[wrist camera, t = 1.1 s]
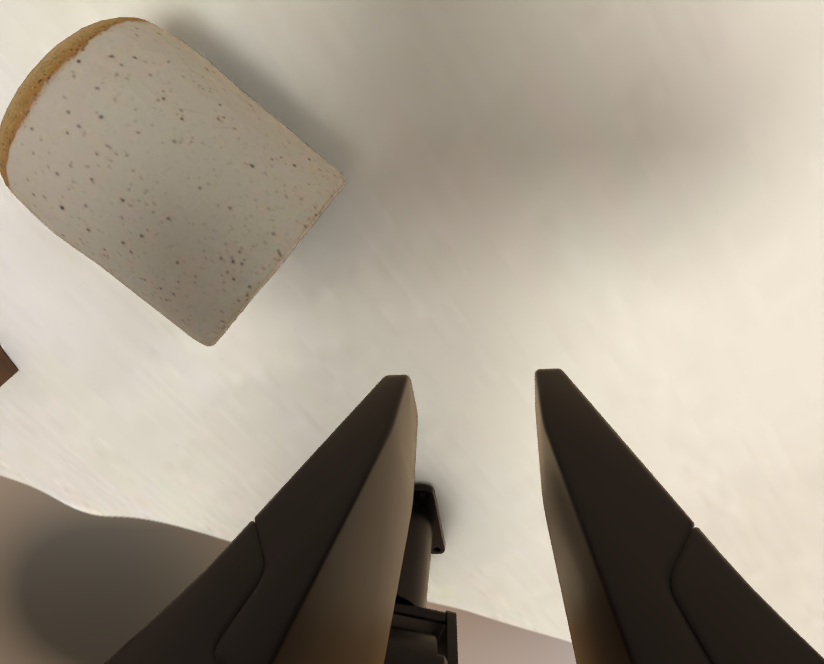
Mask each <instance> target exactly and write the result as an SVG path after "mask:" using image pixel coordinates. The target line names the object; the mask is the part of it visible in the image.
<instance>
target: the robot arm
mask: <svg viewBox="0 0 824 664" xmlns="http://www.w3.org/2000/svg"><path fill="white" fill-rule="evenodd" d="M535 409H536V425H537V437H538V450H539V462H540V474H541V487H542V496H543V505H544V510H545V516H546V521H547V526H548V530H549V535H550V540H551V545H552V549H553V554H554V559H555V564H556V568H557V573H558V578H559V582H560V587H561V592H562V597H563V601H564V606H565V611H566V616H567V620H568V625H569V630H570V635H571V639H572V644H573V648H574V653H575V658H576V663H577V664H824V658H823V657H822V656H821V655H820V654H819V653H818V652H817V651H815V650H814V649H813V648H812V647H811V646H810V645H809V644H808V643H807V642H806V641H805V640H804V639H803V638H802V637H801V636H800V635H799V634H798V633H797V632H796V631H795V630H794V629H793V628H792V627H791V626H790V625H789V624H788V623H787V622H786V621H785V620H784V619H783V618H782V617H781V616H780V615H779V614H778V613H777V612H776V611H775V610H774V609H773V608H772V607H771V606H770V605H769V604H768V603H767V602H766V601H765V600H764V599H763V598H762V597H761V596H760V595H759V594H758V593H757V592H756V591H755V590H754V589H753V588H752V587H751V586H750V585H749V584H748V583H747V582H746V581H745V580H744V579H743V578H742V576H741V575H740V574H739V573H738V572H737V571H736V570H735V569H734V568H733V567H732V565H731V564H730V563H729V562H728V561H727V560H726V559H725V558H724V557H723V556H722V554H721V553H720V552H719V551H718V550H717V549H716V548H715V546H714V545H713V544H712V543H711V542H710V541H709V539H708V538H707V537H706V536H705V535H704V534H703V532H702V531H701V530H700V529H699V528H697V527H695V528H694V522H693V521H692V520H691V519H690V518H689V517H688V515H687V514H686V513H685V512H684V511H683V510H682V508H681V507H680V506H679V505H678V504H677V503H676V501H675V500H674V499H673V498H672V497H671V496H670V494H669V493H668V492H667V491H666V490H665V489H664V488H663V486H662V485H661V484H660V483H659V482H658V481H657V479H656V478H655V477H654V476H653V475H652V474H651V472H650V471H649V470H648V469H647V468H646V467H645V465H644V464H643V463H642V462H641V461H640V460H639V459H638V457H637V456H636V455H635V454H634V453H633V452H632V450H631V449H630V448H629V447H628V446H627V445H626V443H625V442H624V441H623V440H622V439H621V438H620V437H619V435H618V434H617V433H616V432H615V431H614V430H613V428H612V427H611V426H610V425H609V424H608V423H607V421H606V420H605V419H604V418H603V417H602V416H601V414H600V413H599V412H598V411H597V410H596V409H595V408H594V406H593V405H592V404H591V403H590V402H589V401H588V399H587V398H586V397H585V396H584V395H583V394H582V392H581V391H580V390H579V389H578V388H577V387H576V385H575V384H574V383H573V382H572V381H571V380H570V379H569V377H568V376H567V375H566V374H565V373H564V372H563V371H562V370H561V369H538V370H537V371H536V372H535ZM417 426H418V415H417V407H416V402H415V398H414V393H413V388H412V383H411V379H410V377H409V376H407V375H388V376H385V377H384V378H383V379H382V380H381V381H380V382H379V383H378V384H377V385H376V386H375V387H374V388H373V389H372V391H371V392H370V393H369V394H368V395H367V396H366V397H365V398H364V399H363V400H362V401H361V403H360V404H359V405H358V406H357V407H356V408H355V409H354V410H353V411H352V412H351V413H350V414H349V416H348V417H347V418H346V419H345V420H344V421H343V422H342V423H341V424H340V425H339V426H338V428H337V429H336V430H335V431H334V432H333V433H332V434H331V435H330V436H329V437H328V438H327V439H326V441H325V442H324V443H323V444H322V445H321V446H320V447H319V448H318V449H317V450H316V451H315V453H314V454H313V455H312V456H311V457H310V458H309V459H308V460H307V461H306V462H305V463H304V464H303V466H302V467H301V468H300V469H299V470H298V471H297V472H296V473H295V474H294V475H293V476H292V478H291V479H290V480H289V481H288V482H287V483H286V484H285V485H284V486H283V487H282V488H281V489H280V491H279V492H278V493H277V494H276V495H275V496H274V497H273V498H272V499H271V500H270V501H269V503H268V504H267V505H266V506H265V507H264V508H263V509H262V510H261V511H260V512H259V513H258V514H257V516H256V517H255V522H254V521H251V522H250V523H249V524H248V525H247V526H246V527H245V528H244V529H243V530H242V532H241V533H240V534H239V535H238V536H237V537H236V538H235V539H234V540H233V541H232V542H231V543H230V544H229V546H227V548H226V549H225V550H224V551H223V552H222V553H221V554H220V555H219V556H218V557H217V558H216V559H215V560H214V561H213V562H212V563H211V564H210V566H208V567H207V568H206V569H205V570H204V571H203V572H202V573H201V574H200V575H199V576H198V577H197V578H196V579H195V580H194V581H193V582H192V583H191V584H190V585H189V586H188V587H187V588H185V589H184V591H182V592H181V593H180V594H179V595H178V596H177V597H176V598H175V599H174V600H173V601H172V602H171V603H170V604H169V605H167V607H165V608H164V609H163V610H162V611H161V612H160V613H159V614H158V615H157V616H155V617H154V618H153V619H152V620H151V621H150V622H149V623H148V624H147V625H146V626H145V627H144V628H143V629H141V630H140V631H139V632H138V633H137V634H136V635H135V636H134V637H133V638H132V639H130V640H129V641H128V642H127V643H126V644H125V645H124V646H123V647H122V648H121V649H120V650H119V651H117V652H116V653H115V654H114V655H113V656H112V657H111V658H110V659H109V660H108V661H107V662H105V663H104V664H458V651H457V625H456V623H457V622H456V613H455V612H450V611H446V612H441V611H437V610H431V609H427V608H426V601H427V590H428V580H429V569H430V559H431V554H441V553H443V552H444V551H445V541H444V536H443V531H442V526H441V521H440V516H439V511H438V506H437V501H436V496H435V492H434V489H433V488H432V487H431V486H429V485H414V478H415V461H416V444H417Z"/></svg>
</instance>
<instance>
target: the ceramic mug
mask: <svg viewBox="0 0 824 664" xmlns="http://www.w3.org/2000/svg"><path fill="white" fill-rule="evenodd" d="M0 173H1V175H2V178H3V180H4V182H5V184H6V186H7V187H8V188H9V189H10V190H11V192H12V193H13V194H14V195H15V196H16V198H17V199H18V200H19V201H20V202H21V203H22V204H23V205H24V206H26V207H27V208H28V209H29V210H30V211H31V212H32V213H33V214H34V215H35V216H36V217H37V218H38V219H39V220H40V221H41V222H42V223H44V224H45V225H46V226H47V227H48V228H49V229H50V230H51V231H52V232H54V233H55V234H56V235H57V236H59V237H60V238H61V239H63V240H64V241H66V242H67V243H68V244H70V245H71V246H73V247H74V248H76V249H77V250H78V251H80V252H81V253H83V254H84V255H85V256H87V257H88V258H90V259H91V260H93V261H94V262H95V263H97V264H98V265H100V266H101V267H102V268H104V269H105V270H106V271H107V272H109V273H110V274H111V275H112V276H114V277H115V278H116V279H118V280H119V281H120V282H121V283H123V284H124V285H125V286H127V287H128V288H129V289H130V290H132V291H133V292H134V293H136V294H137V295H138V296H139V297H141V298H142V299H143V300H145V301H146V302H147V303H148V304H150V305H151V306H152V307H154V308H155V309H156V310H157V311H159V312H160V313H161V314H163V315H164V316H165V317H166V318H168V319H169V320H170V321H171V322H173V323H174V324H175V325H177V326H178V327H179V328H180V329H182V330H183V331H184V332H185V333H187V334H188V335H189V336H191V337H192V338H193V339H195V340H197V341H198V342H200V343H202V344H204V345H206V346H212V345H214V344H216V342H217V341H218V340H219V339H220V337H222V336H223V335H224V333H225V332H226V330H227V329H228V328H229V327H230V325H231V324H232V323H233V322H234V321H235V320H236V318H237V317H238V315H239V314H240V313H241V312H242V311H243V310H244V308H245V307H246V306H247V305H248V303H249V302H250V301H251V300H252V298H253V297H254V296H255V295H256V294H257V293H258V291H259V290H260V289H261V288H262V287H263V286H264V285H265V283H266V282H267V281H268V280H269V279H270V278H271V277H272V276H273V274H274V273H275V272H276V271H277V270H278V268H279V267H280V266H281V265H282V264H283V262H284V261H285V260H286V259H287V257H288V256H289V255H290V253H291V252H292V251H293V249H294V248H295V246H296V245H297V243H298V242H299V241H300V240H301V238H302V237H303V236H304V235H305V234H306V233H307V232H308V231H309V229H310V228H311V227H312V226H313V224H314V223H315V222H316V220H317V219H318V218H319V217H320V215H321V214H322V212H323V211H324V210H325V209H326V208H327V206H328V205H329V204H330V203H331V202H332V200H333V199H334V197H335V196H336V195H337V194H338V193H339V192H340V190H341V189H342V188H343V187H344V186H345V179H344V177H343V175H342V173H340V172H339V171H338V170H337V169H335V168H334V167H333V166H331V165H330V164H329V163H328V162H326V161H325V160H324V159H323V158H322V157H320V156H319V155H318V154H317V153H316V152H315V151H313V150H312V149H311V148H310V147H309V146H308V145H306V144H305V143H304V142H303V141H302V140H301V139H300V138H298V137H297V136H296V135H295V134H294V133H293V132H292V131H290V130H289V129H288V128H287V127H285V126H284V125H283V124H282V123H281V122H279V121H278V120H277V119H276V118H274V117H273V116H272V115H271V114H270V113H268V112H267V111H266V110H265V109H263V108H262V107H261V106H260V105H259V104H257V103H256V102H255V101H254V100H252V99H251V98H250V97H249V96H248V95H246V94H245V93H244V92H243V91H241V90H240V89H239V88H238V87H237V86H235V85H234V84H233V83H232V82H231V81H230V80H229V79H228V78H227V77H225V76H224V75H223V74H222V73H221V72H220V71H219V70H218V69H217V68H216V67H215V66H213V65H212V64H211V63H210V62H209V61H207V60H206V59H205V58H204V57H202V56H201V55H200V54H198V53H197V52H196V51H195V50H193V49H192V48H191V47H190V46H188V45H187V44H186V43H184V42H183V41H181V40H179V39H178V38H176V37H174V36H173V35H171V34H170V33H168V32H166V31H164V30H163V29H161V28H159V27H158V26H156V25H154V24H152V23H150V22H148V21H146V20H143V19H139V18H130V17H119V18H113V19H108V20H102V21H99V22H97V23H94V24H92V25H89V26H86V27H84V28H82V29H80V30H79V31H77V32H76V33H74V34H73V35H71V36H70V37H68V38H66V39H65V40H63V41H62V42H60V43H59V44H58V45H57V46H55V47H54V48H53V49H52V50H51V51H50V52H49V53H48V54H47V55H46V56H45V57H44V58H43V59H42V60H41V61H40V62H39V63H38V64H37V66H36V67H35V68H34V69H33V70H32V71H31V72H30V73H29V75H28V76H27V77H26V79H25V80H24V81H23V83H22V84H21V86H20V87H19V88H18V90H17V92H16V94H15V95H14V97H13V99H12V101H11V103H10V104H9V106H8V108H7V110H6V113H5V115H4V117H3V120H2V122H1V126H0Z"/></svg>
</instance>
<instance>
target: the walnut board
mask: <svg viewBox="0 0 824 664" xmlns="http://www.w3.org/2000/svg"><path fill="white" fill-rule="evenodd" d="M17 371H18V370H17V369H16V367H15V366H14V365H13V363H12V362H11V361H10V359H9V358H8V357H7V355H6V354H5V353H4V351H3V350H2V349H1V348H0V387H1V386H2V385H3V384H4V383H5V382H6V381H7V380H8V379H10V378H11V377H12V376H13V375H14V374H15V373H16V372H17Z"/></svg>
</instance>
